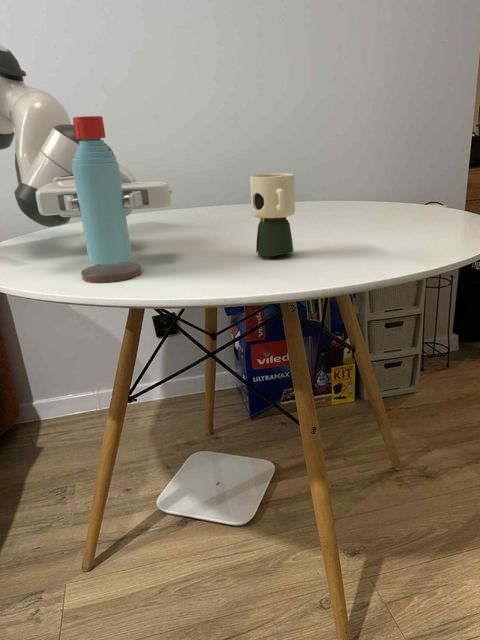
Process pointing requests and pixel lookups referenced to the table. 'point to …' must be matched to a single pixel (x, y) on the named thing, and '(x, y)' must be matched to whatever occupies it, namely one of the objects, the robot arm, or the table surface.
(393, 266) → the table surface
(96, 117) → the cap
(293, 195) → the character mug
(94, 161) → the bottle
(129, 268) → the coaster
